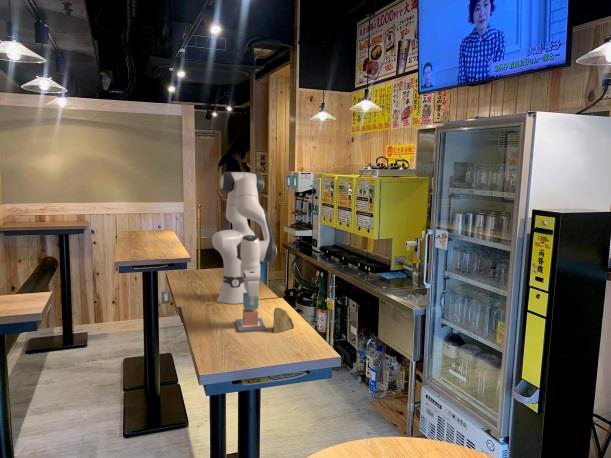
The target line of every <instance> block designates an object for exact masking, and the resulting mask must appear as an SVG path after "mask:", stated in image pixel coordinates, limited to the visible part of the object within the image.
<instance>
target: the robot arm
mask: <svg viewBox="0 0 611 458" xmlns="http://www.w3.org/2000/svg"><path fill="white" fill-rule="evenodd" d="M219 184H220V188H221V190H222V191H223V192H225V193H227V197H226V210H225V218H226V220H227V221H228V222H229V223H231V225H232V229H223V230H220V231H217V232H215V233H214V234H213V236H212V238H211V244H212V246H213V248H214V250H215V251H216V250H217V252H219V255H220V256H221V258H222V261H223V276H222V280H223V281H222V282H223V283H222V284H221V286H220V287H219V289H218V291H219V295H218V297H217V299H216V302H218V303H223V304H231V305H233V304H234V305H236V304H243V293H247V294H248V296H249V297H250V300H249V304H250V305H254V298H255V297H257V296H258V297H259V286H260V285H259V283H260V279H261V262H263V263H271V262H273V261H274V260H275V259H276V258H277V255H278V250H277V245H276V243H275V240H274V236H273V232H272V228H271V227H272V226H271V223H270V219H269V215H268V213H267V210H266V209H265V208H263V207H262V206H261V204H260V200H259V194H261V193H262V192H263V190H264V187H265V179H264V177H263V176H262V174H259V173H252V172H247V171H246V172H245V171H242V172H241V171H239V172H238V171H234V172H233V171H226V172H223V173H222V175H221V177H220V181H219ZM248 220H251V221H254V222H256V223H257V224H259V226H260V227H261V231H262V235H263V240H260V239H259V238H260V237H258V236H257V235H255V232H254V231H253V230H252V229H251V228H250V225H249V222H248Z"/></svg>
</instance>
